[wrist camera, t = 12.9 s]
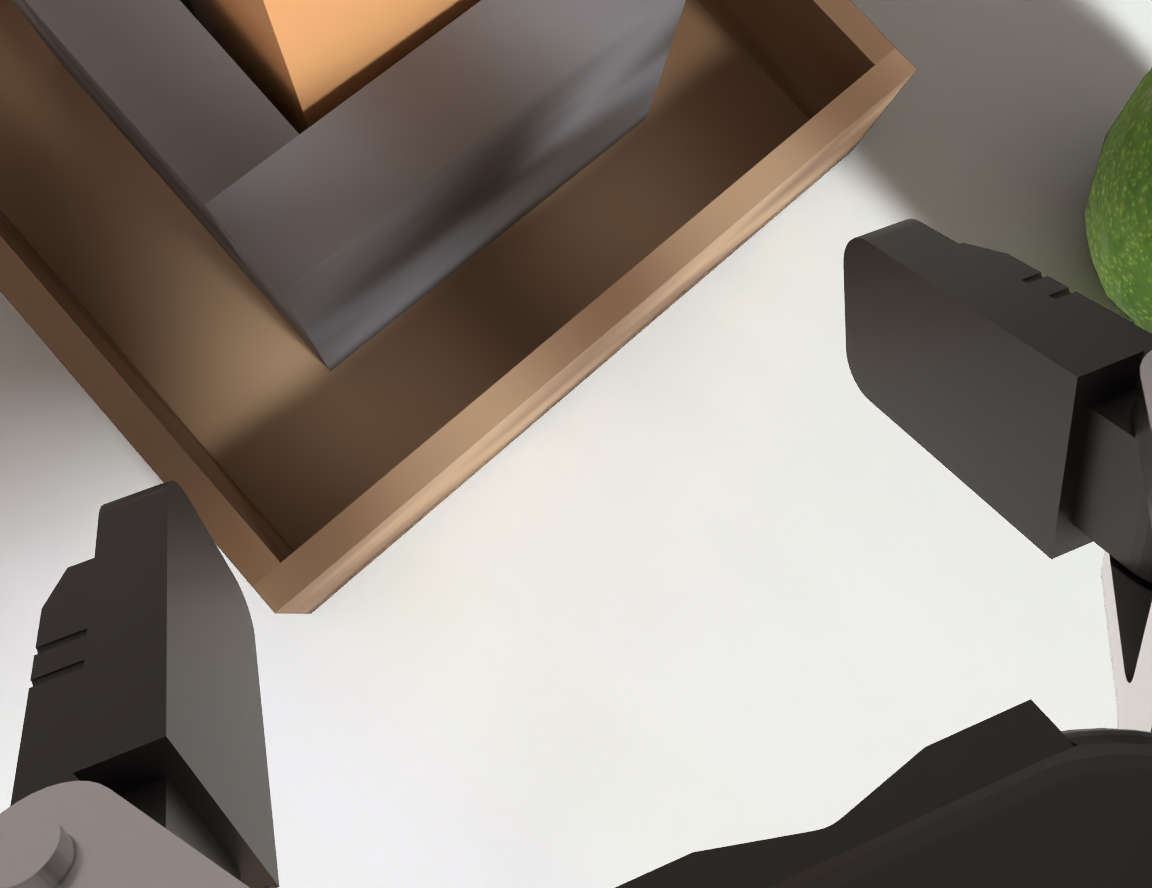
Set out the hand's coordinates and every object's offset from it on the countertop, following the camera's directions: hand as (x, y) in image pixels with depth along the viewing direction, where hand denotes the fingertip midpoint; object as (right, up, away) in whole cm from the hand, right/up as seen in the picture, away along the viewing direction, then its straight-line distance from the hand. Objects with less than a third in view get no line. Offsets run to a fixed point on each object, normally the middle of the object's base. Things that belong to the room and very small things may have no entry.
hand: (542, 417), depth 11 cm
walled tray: (-4, +7, +11) cm, 14 cm away
